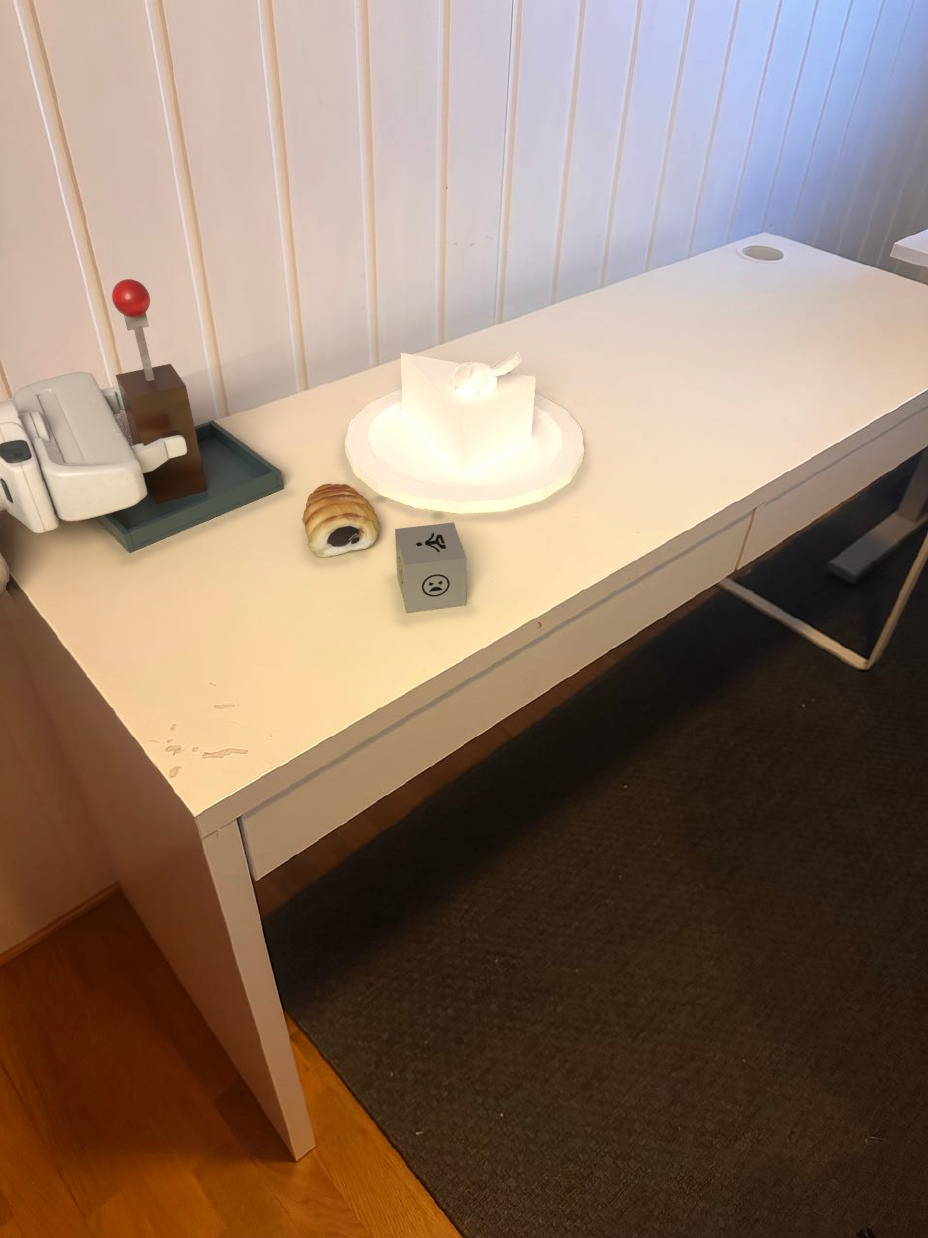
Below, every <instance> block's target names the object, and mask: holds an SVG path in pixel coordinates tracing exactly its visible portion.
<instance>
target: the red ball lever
mask: <svg viewBox="0 0 928 1238" xmlns="http://www.w3.org/2000/svg"><path fill="white" fill-rule="evenodd" d="M111 300H112V303H113V306H114V307H115V309H116V310H117V311H118V312H119V313H120V314H122V315H123V317H124V321H125V326H126V330H127V331H128V332H129V331H134V336H135V340H136V344H137V348H138V352H139V356H140V361H141V364H142V369H138V370H133V371H129V372H123V373H118V374H115V378H116V381H117V386H118V388H119V390H120V394H121V398H122V401H123V405H124V409H125V410H124V412H125V416H126V420H127V424H128V429H129V431H130V435H131V439H132V443H133V445H136V444H140V443H143V444H144V446H146V445H148V444H150V443H152V442H154V441H156V440H158V439H160V438H161V436H160V434H162V433H166V432H172V431H175V430H177V431H179V432H180V433H181V435H182V436H183V437H184V439H185V442H186V447H187V453H186V454H185V455H182V456H178V457H174V458H170V459H168V460H167V461H166V462H164V463H163V464H162V465H160V466H159V467H157V468H156V469H155V470H153V471H150V472H146V473H143V476H144V480H145V484H146V486H147V488H148V490H149V492H150V494H151V496H152V497H153V499H154V501H155V503H156V504H158V503H162V502H166V501H170V500H174V499H177V498H181V497H185V496H189V495H193V494H196V493H200V492H204V491H207V485H206V480H205V475H204V471H203V466H202V461H201V456H200V451H199V446H198V442H197V437H196V432H195V423H194V418H193V413H192V409H191V408H192V407H191V403H190V399H189V394H188V388H187V385H186V384H185V383H184V381H183V379H182V378H181V377H180V375H179V374H178V372H177V370H175V368H174V366H173V365H172V363H166V364H162V365H158V366H152V362H151V358H150V354H149V349H148V345H147V340H146V336H145V332H144V329H145V328H149V327H150V324H149V320H148V315H147V312H148V310H149V308H150V305H151V297H150V292H149V291H148V288H147V287H146V286H145V285H144V284H143V283H142V282H140V281H138V280H135V279H131V278H127V279H122V280H121V281H118V282H117V283H116V285H114V287H113V289H112V293H111Z"/></svg>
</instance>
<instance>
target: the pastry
mask: <svg viewBox="0 0 928 1238" xmlns="http://www.w3.org/2000/svg"><path fill="white" fill-rule="evenodd" d="M306 500H307V501H306V503H305V509H304V511H303V515H302V518H301V519H302V524H303V525H304V527H305V528H304V529H305V533H306V536H307V541H308V544H307V546H308V548H309V550H310V551H311V552H312V553H314V554H315V555H316V556H317V557H320V558H328V557H329V558H330V557H335V556H340V555H343V554H346V553H349V552H352V551H360V550H365V549H367V548H370V547H371V546H372V545H373V544H375V542H376V541H377V539H378V537H379V534H380V530H381V523H380V521H379V517H378V515H377V513H376V511H375V509H374V507H373V506H372V504H371V503H370V501H369V500H368V499H366V497H364V495H362V494H360V493H359V492H358V491H357V490H356V489H355V488H354V487H352V486H350V485H348V484H346V483H342V484H341V483H340V484H339V483H335V484H333V483H325V484H324V483H323V484H322V485H319V486H317V488H315V489H314V490H313V492H311V493H310V494H309V495H308V497H307V499H306Z"/></svg>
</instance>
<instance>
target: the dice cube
mask: <svg viewBox="0 0 928 1238" xmlns="http://www.w3.org/2000/svg"><path fill="white" fill-rule="evenodd" d="M394 535H395V556H396V557H395V558H396V559H395V560H396V577H397V581H398V584H399V589H400V593H401V596H402V600H403V604H404V608H405V612H406V613H407V614H409V613H417V612H425V611H431V610H432V611H433V610H439V609H447V608H455V607H456V608H457V607H462V606H466V604H467V603H466V602H467V598H466V597H467V555H466V552H465V549H464V547H463V544H462V541H461V539H460V535H459V533H458V530H457V527H456V524H455V522H444V523H436V524H427V525H418V526H410V527H409V526H408V527H399V528H394Z"/></svg>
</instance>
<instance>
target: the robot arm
mask: <svg viewBox="0 0 928 1238" xmlns="http://www.w3.org/2000/svg"><path fill="white" fill-rule="evenodd" d="M121 411H125V409H124V405H123V401H122V398H121V394H120V390H119V387H115V386H111V387H106V388H102V389H101V387H100V385H99V384H98V382H97V380H96V378H95V376H94V374H93V373H91V372H85V371H75V372H71V373H65V374H62V375H58V376H54V377H50V378H46V379H42V380H40V381H36V382H33V383H30V384H27V385H25V386H22V387H20V388H19V389H17V390H16V391H15V392H14V394H13V396H10V397H8V398H7V399H6V400H5V401H0V512H2V511H6V512H7V513H8V514H9V515H10V516H12V517H14V518H15V519H17V520H18V521H19V522H20V523H22V525H24V526H25V527H27V528H28V530H30V531H31V532H32V533H35V534H43V533H47V532H51V531H53V530H55V529H57V528H58V527H59V525H60V522H59V519H60V520H62V521H66V522H80V521H83V520H88V519H92V518H93V519H94V517H97V516H101V515H105V514H108V513H112V512H115V511H119V510H122V509H125V508H128V507H131V506H133V505H136V504H137V503H138V502H140V501H141V500H142V499H143V498H144V497H145V496H146V495H147V488H146V484H145V480H144V476H143V473H146V472H150V471H153V470H155V469H156V468H157V467H159V466H160V465H162V464H163V463H164V462H166V461H167V460H168V459H170V458H174V457H178V456H182V455H185V454H186V453H187V447H186V442H185V439H184V437H183V436H182V435H181V433H180V432H179V431H177V430H175V431H172V432H166V433H162V434H160V436H161V438H160V439H158V440H156V441H154V442H152V443H150V444H148V445H146V446H144V444H143V443H140V444H136V445H134V444H132V445H131V444H130V443H129V441H128V439H127V437H126V435H125V433H124V430H123V429H122V427H121V426H120V423H119V421H118V419H117V418H116V416H115V415H119V414H121V413H122V412H121ZM58 518H59V519H58ZM10 577H11V575H10V568H9V565H8V563H7V561H6V559H5V557H4V556H3V554H2V553H1V551H0V598H1V597H2V596H3V594H4V592H5V591H6V588H7V585H8V583H9V582H10Z"/></svg>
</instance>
